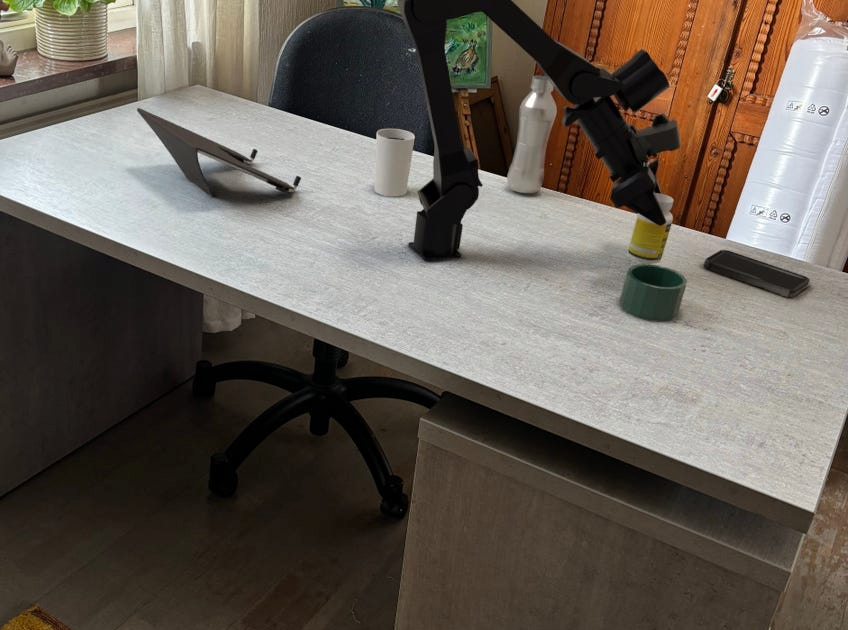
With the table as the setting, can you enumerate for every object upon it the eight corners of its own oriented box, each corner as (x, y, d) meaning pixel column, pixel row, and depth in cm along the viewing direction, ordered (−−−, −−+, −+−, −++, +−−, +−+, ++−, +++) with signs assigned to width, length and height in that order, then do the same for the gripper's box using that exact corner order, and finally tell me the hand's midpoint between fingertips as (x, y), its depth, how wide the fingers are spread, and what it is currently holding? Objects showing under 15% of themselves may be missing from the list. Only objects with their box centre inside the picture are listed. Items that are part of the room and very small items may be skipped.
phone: (723, 248, 161) (812, 278, 153) (721, 255, 162) (809, 285, 154) (702, 260, 156) (793, 292, 148) (700, 267, 157) (791, 298, 149)
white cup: (401, 184, 178) (407, 128, 172) (414, 196, 173) (420, 140, 167) (366, 184, 176) (371, 128, 170) (378, 198, 171) (383, 140, 165)
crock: (643, 324, 138) (652, 291, 135) (608, 298, 144) (616, 267, 141) (689, 317, 141) (699, 285, 138) (653, 292, 147) (662, 261, 144)
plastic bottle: (501, 184, 182) (520, 72, 171) (537, 186, 183) (557, 75, 172) (508, 196, 177) (528, 81, 166) (544, 198, 178) (566, 84, 167)
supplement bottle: (661, 267, 150) (679, 206, 145) (626, 261, 151) (642, 200, 145) (660, 254, 155) (677, 194, 149) (626, 248, 155) (641, 188, 150)
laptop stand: (289, 233, 170) (312, 184, 167) (179, 190, 153) (202, 134, 151) (228, 190, 185) (248, 144, 182) (121, 146, 168) (141, 95, 166)
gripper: (655, 115, 133) (713, 208, 137) (659, 85, 148) (712, 170, 152) (585, 162, 139) (643, 250, 143) (595, 129, 153) (648, 209, 158)
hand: (663, 218), depth 149 cm, fingers closed on supplement bottle, 5 cm apart
